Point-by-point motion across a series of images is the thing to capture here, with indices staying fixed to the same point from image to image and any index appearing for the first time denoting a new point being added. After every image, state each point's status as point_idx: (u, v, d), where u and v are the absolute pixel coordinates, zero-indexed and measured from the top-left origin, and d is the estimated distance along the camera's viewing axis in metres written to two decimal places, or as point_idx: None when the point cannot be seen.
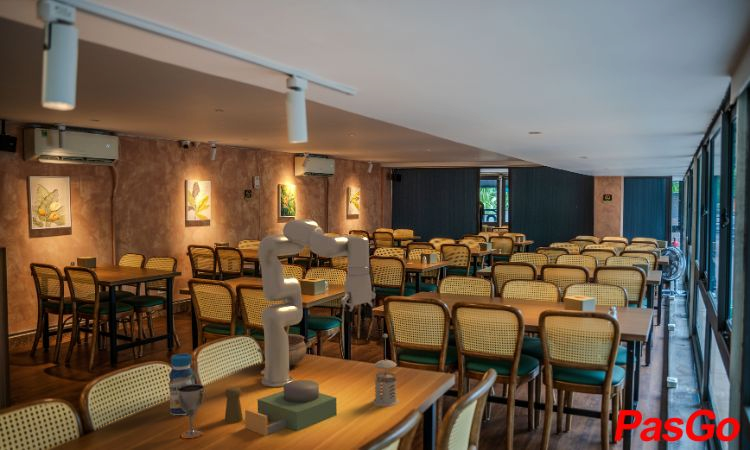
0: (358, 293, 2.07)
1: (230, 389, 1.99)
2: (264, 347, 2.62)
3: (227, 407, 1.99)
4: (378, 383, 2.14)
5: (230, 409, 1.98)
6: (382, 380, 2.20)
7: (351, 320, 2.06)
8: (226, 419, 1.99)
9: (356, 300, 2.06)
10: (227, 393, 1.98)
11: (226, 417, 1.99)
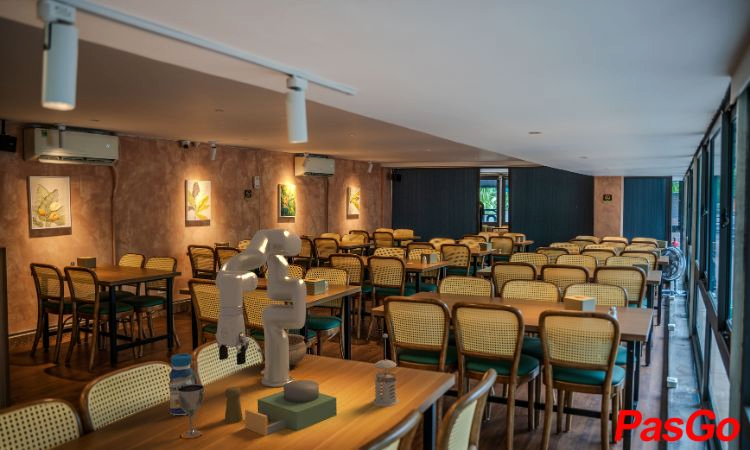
0: None
1: (230, 389, 1.99)
2: (264, 347, 2.62)
3: (227, 407, 1.99)
4: (378, 383, 2.14)
5: (230, 409, 1.98)
6: (382, 380, 2.20)
7: (244, 361, 1.97)
8: (226, 419, 1.99)
9: None
10: (227, 393, 1.98)
11: (226, 417, 1.99)
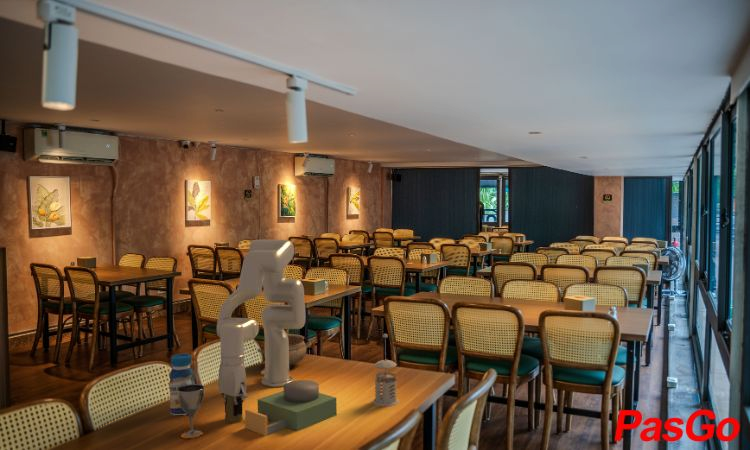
0: None
1: None
2: (264, 347, 2.62)
3: (227, 407, 1.99)
4: (378, 383, 2.14)
5: (230, 409, 1.98)
6: (382, 380, 2.20)
7: (241, 412, 2.00)
8: (226, 419, 1.99)
9: None
10: None
11: (226, 417, 1.99)
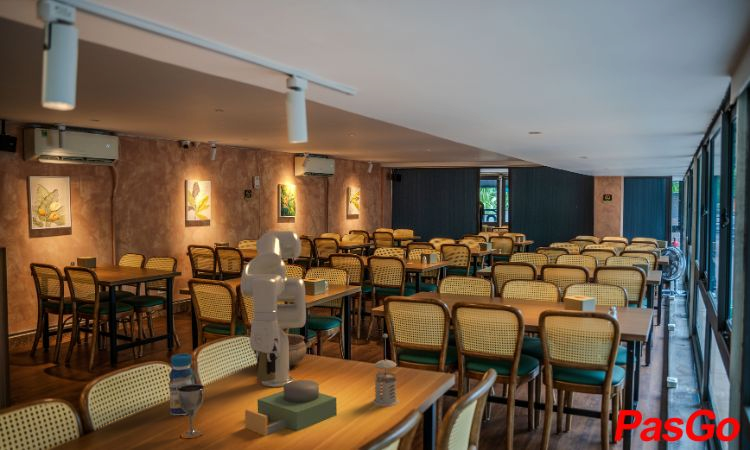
0: None
1: None
2: None
3: (260, 365, 1.91)
4: (378, 383, 2.14)
5: (263, 366, 1.91)
6: (382, 380, 2.20)
7: (274, 370, 1.92)
8: (259, 377, 1.91)
9: None
10: None
11: (259, 375, 1.91)
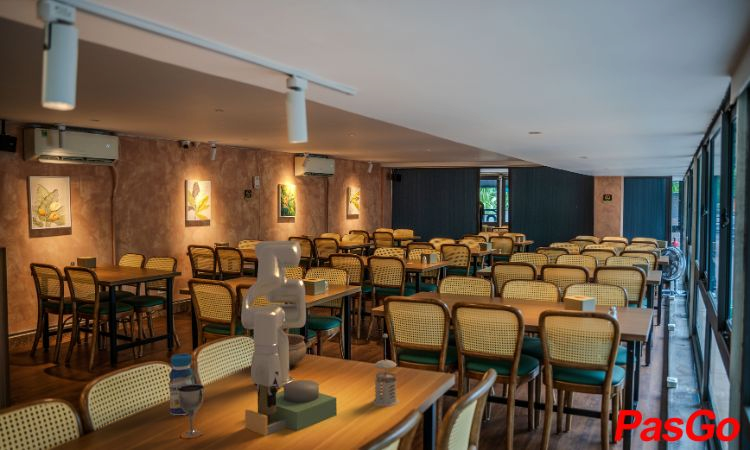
0: None
1: None
2: None
3: (260, 398, 1.92)
4: (378, 383, 2.14)
5: (263, 400, 1.91)
6: (382, 380, 2.20)
7: None
8: (259, 410, 1.92)
9: None
10: None
11: (259, 408, 1.92)
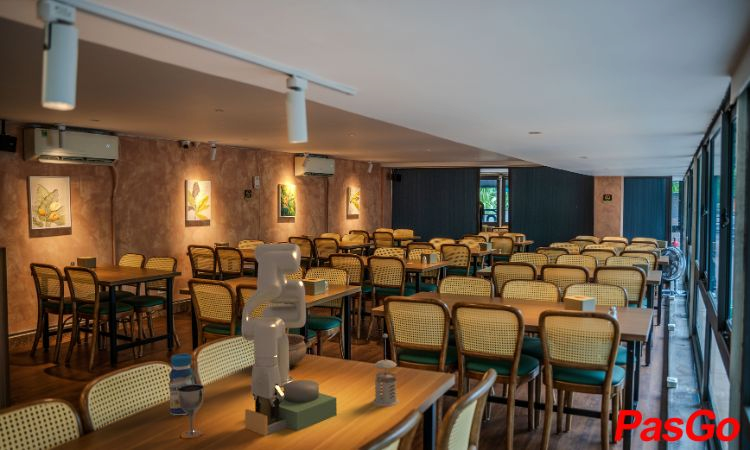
0: None
1: None
2: None
3: None
4: (378, 383, 2.14)
5: None
6: (382, 380, 2.20)
7: (278, 414, 1.92)
8: None
9: None
10: (261, 399, 1.92)
11: None
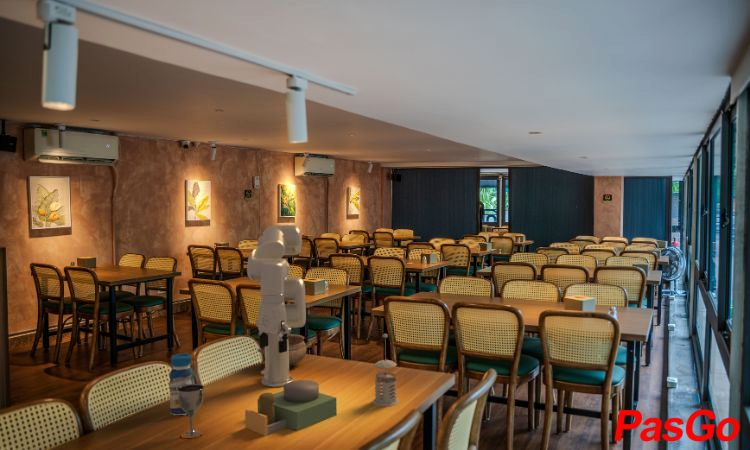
0: None
1: (264, 395, 1.92)
2: (264, 347, 2.62)
3: None
4: (378, 383, 2.14)
5: None
6: (382, 380, 2.20)
7: (286, 349, 1.97)
8: None
9: None
10: (261, 399, 1.92)
11: None
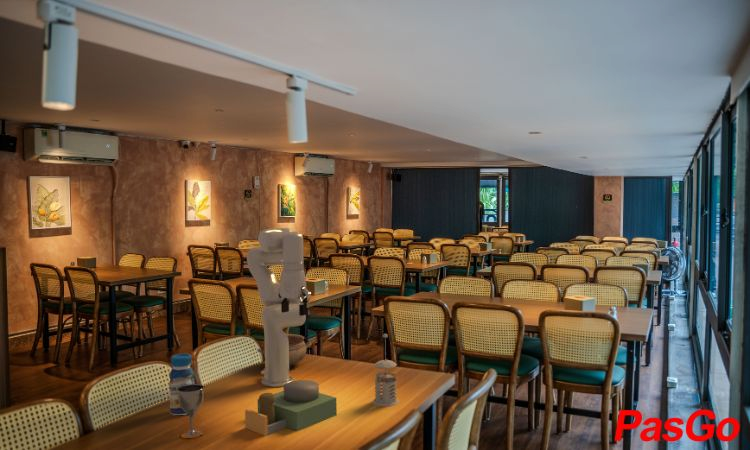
0: None
1: (264, 395, 1.92)
2: (264, 347, 2.62)
3: None
4: (378, 383, 2.14)
5: None
6: (382, 380, 2.20)
7: (305, 312, 2.15)
8: None
9: None
10: (261, 399, 1.92)
11: None
